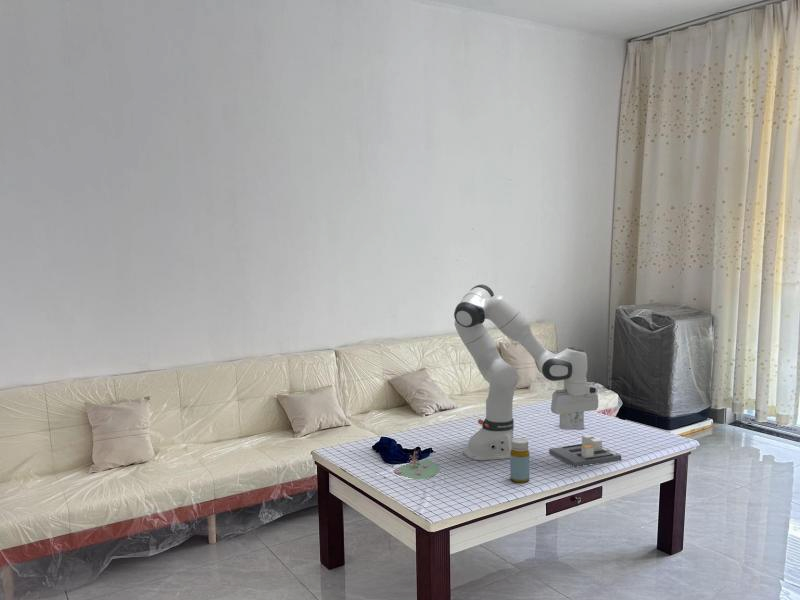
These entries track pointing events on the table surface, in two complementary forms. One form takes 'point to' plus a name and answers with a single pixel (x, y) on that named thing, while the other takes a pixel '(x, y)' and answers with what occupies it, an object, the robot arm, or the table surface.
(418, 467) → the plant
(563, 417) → the light bulb box
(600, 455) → the switch panel
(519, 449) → the bottle
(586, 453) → the switch
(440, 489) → the table surface
